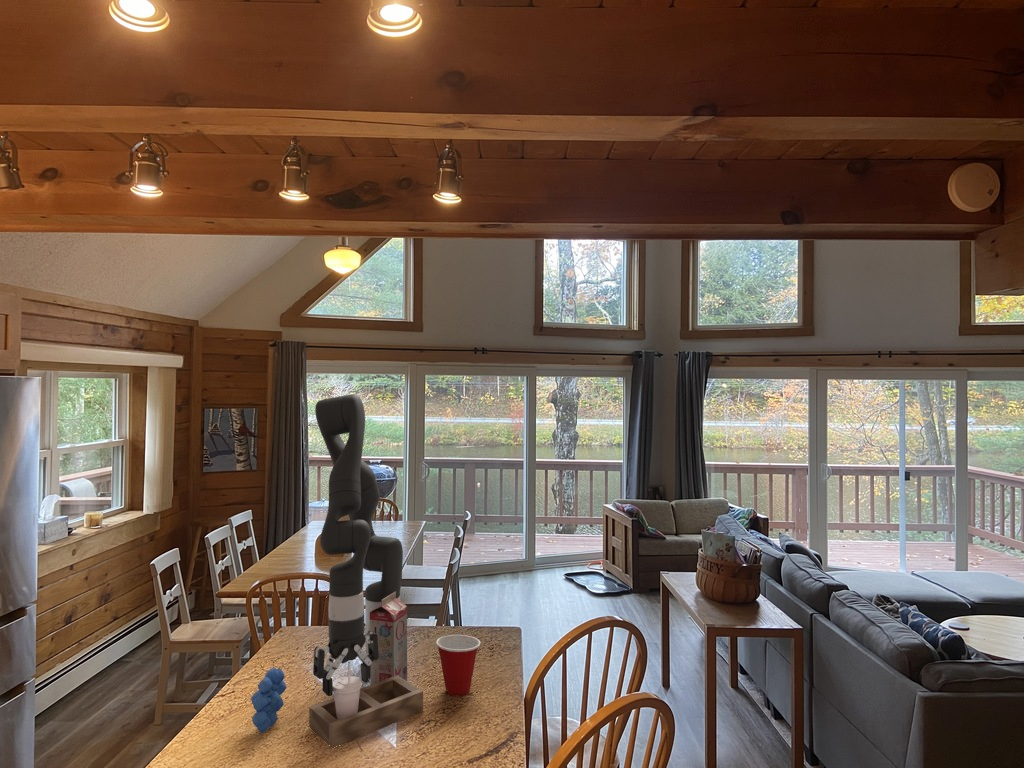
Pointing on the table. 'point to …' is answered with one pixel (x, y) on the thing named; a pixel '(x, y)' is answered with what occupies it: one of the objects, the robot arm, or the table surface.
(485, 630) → the table surface
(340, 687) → the smoothie
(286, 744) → the table surface
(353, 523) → the robot arm
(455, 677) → the plastic cup
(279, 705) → the grapes
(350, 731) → the slot rack
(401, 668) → the juice carton
